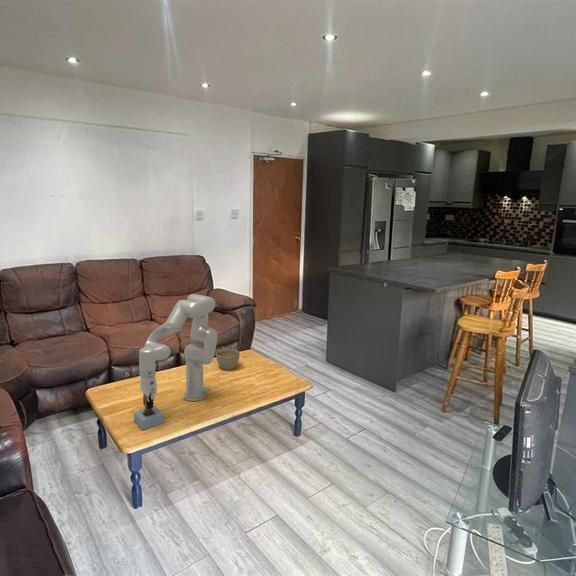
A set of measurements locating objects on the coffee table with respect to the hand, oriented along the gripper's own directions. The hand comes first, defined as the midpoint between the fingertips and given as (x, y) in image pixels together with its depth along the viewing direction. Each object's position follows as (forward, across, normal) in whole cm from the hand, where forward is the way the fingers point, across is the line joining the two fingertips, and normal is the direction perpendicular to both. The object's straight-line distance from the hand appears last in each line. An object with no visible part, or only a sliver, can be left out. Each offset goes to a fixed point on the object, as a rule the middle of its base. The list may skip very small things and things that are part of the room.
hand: (148, 405), depth 208 cm
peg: (+4, 0, 0) cm, 4 cm away
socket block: (+9, 0, 0) cm, 9 cm away
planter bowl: (+9, +37, -70) cm, 80 cm away
